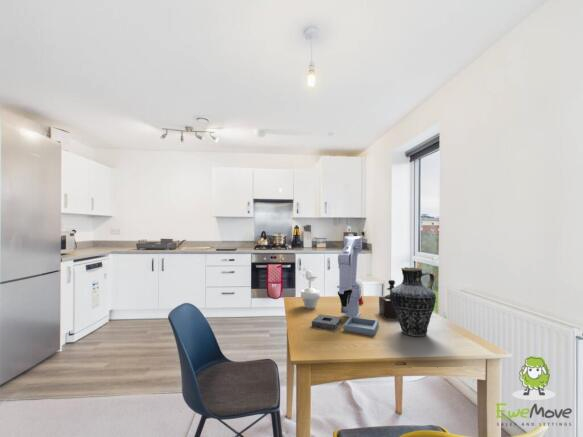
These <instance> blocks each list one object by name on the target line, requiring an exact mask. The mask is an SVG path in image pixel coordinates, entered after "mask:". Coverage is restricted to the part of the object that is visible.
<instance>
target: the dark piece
mask: <svg viewBox="0 0 583 437" xmlns="http://www.w3.org/2000/svg"><path fill="white" fill-rule="evenodd" d="M395 284H396V280H394V279H390V280H388V285H389V287H387V288H386V290H388V291H389V294H387V295H384V296H378V310H379V315H380V316H383V318H385V319H398V318H397V315H396V312H395V310H394V308H393V305H392V302H391V298H390V293H391V290H392V289H393V288H394V287H395Z"/></svg>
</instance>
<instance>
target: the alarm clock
mask: <svg viewBox="0 0 583 437" xmlns="http://www.w3.org/2000/svg"><path fill="white" fill-rule="evenodd" d="M358 301H359V306H360V305H363V304H364V299H363V296H362V295H361V298H360V299H358Z"/></svg>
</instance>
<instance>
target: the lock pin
mask: <svg viewBox="0 0 583 437" xmlns="http://www.w3.org/2000/svg"><path fill="white" fill-rule="evenodd" d="M348 297H349V296H348ZM347 312H348V300H347V306H346V307H342V305H340V313H341V314H344V313H347Z"/></svg>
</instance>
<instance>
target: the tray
mask: <svg viewBox="0 0 583 437" xmlns="http://www.w3.org/2000/svg"><path fill="white" fill-rule="evenodd" d="M379 322H380V321H379V319H372V318H367V317H359V316H358V317H352V316H350V317H348V319H347V320H346V322H345V323H344V324H343V332H344V333H345V332H346V333H351V334H352V333H353V334H358V335H365V336H371V337H375V335H376V333H377V332H378V328H379V324H380V323H379Z"/></svg>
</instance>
